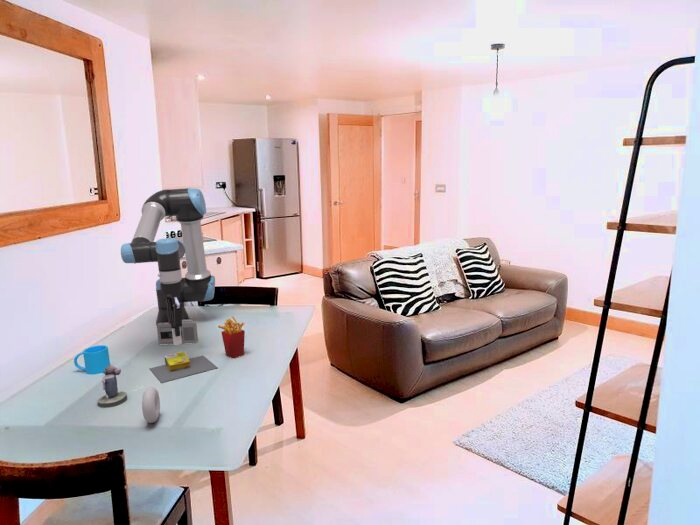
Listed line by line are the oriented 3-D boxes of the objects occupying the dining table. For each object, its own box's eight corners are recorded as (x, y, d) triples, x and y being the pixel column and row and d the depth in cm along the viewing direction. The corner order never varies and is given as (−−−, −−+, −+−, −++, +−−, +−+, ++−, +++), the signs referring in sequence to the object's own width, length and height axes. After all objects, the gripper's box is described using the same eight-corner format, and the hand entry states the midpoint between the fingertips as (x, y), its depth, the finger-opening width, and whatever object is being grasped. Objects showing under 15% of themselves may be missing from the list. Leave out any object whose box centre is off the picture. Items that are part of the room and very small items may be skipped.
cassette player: (158, 345, 208) (156, 322, 206) (160, 343, 211) (158, 320, 209) (196, 343, 209) (194, 320, 207) (198, 341, 212) (195, 318, 210)
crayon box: (165, 362, 188) (169, 372, 178) (164, 355, 187) (168, 365, 177) (185, 358, 191) (190, 368, 181) (184, 351, 191) (190, 360, 180)
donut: (150, 413, 148) (146, 382, 146) (162, 412, 149) (158, 381, 147) (143, 430, 139) (139, 397, 137) (156, 428, 139) (152, 395, 137)
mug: (113, 364, 189) (110, 344, 187) (106, 373, 181) (103, 351, 179) (79, 368, 187) (76, 347, 185) (71, 376, 179) (68, 355, 177)
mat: (149, 369, 183) (149, 368, 183) (203, 355, 194) (203, 355, 194) (161, 383, 170) (161, 382, 170) (217, 368, 181) (217, 367, 181)
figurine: (121, 393, 163) (117, 358, 161) (131, 400, 157) (126, 365, 155) (94, 401, 158) (89, 366, 156) (102, 410, 152) (97, 373, 150)
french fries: (247, 354, 193) (244, 317, 190) (229, 361, 187) (225, 323, 185) (234, 349, 199) (231, 313, 196) (216, 356, 193) (212, 318, 191)
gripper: (155, 280, 182) (162, 341, 187) (165, 286, 172) (172, 351, 176) (176, 277, 187) (182, 337, 191) (187, 282, 176) (193, 346, 180)
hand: (177, 343), depth 184 cm, fingers closed
